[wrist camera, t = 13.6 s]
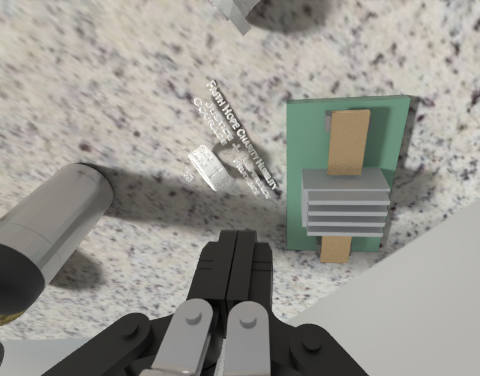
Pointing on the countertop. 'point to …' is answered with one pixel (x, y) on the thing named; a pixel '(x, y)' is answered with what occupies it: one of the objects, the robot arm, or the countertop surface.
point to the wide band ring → (213, 167)
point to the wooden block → (347, 141)
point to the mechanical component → (236, 12)
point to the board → (318, 146)
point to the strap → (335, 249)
